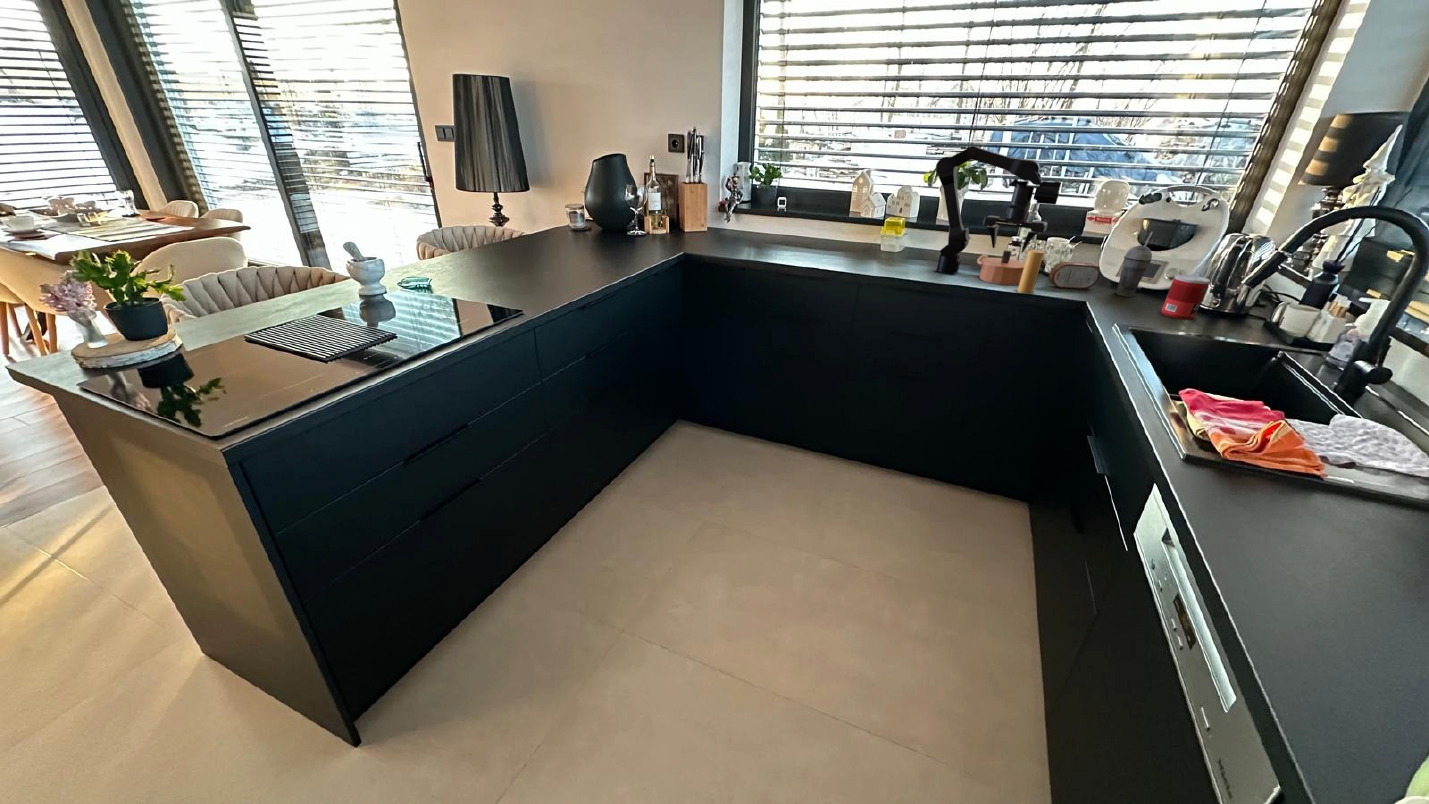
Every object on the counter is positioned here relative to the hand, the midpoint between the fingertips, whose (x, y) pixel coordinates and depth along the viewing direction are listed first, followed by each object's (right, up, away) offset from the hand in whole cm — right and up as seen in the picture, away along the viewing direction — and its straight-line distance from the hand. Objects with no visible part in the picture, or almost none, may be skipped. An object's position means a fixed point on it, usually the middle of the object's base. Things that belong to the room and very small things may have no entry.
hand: (1007, 249), depth 189 cm
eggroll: (+1, -16, -9) cm, 18 cm away
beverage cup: (+33, -17, -9) cm, 38 cm away
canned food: (+35, -27, -28) cm, 52 cm away
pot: (0, -9, +5) cm, 10 cm away
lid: (0, -4, +2) cm, 5 cm away
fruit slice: (+1, -2, +18) cm, 18 cm away
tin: (+20, -14, -3) cm, 24 cm away
